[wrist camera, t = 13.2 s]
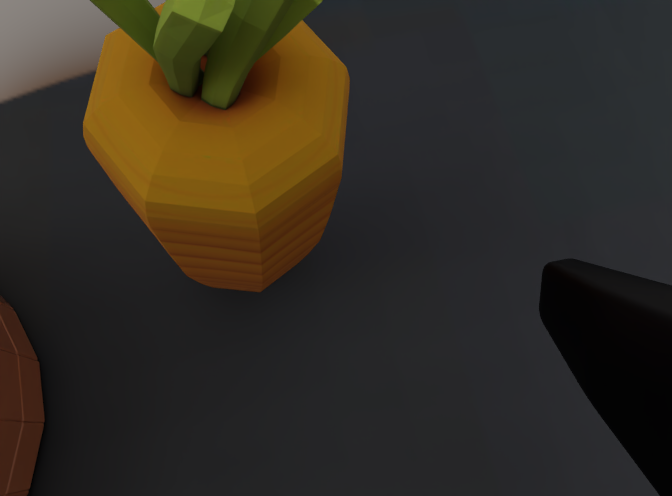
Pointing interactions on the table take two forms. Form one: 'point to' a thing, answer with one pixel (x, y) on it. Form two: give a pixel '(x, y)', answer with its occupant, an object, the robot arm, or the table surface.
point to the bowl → (18, 405)
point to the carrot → (221, 131)
